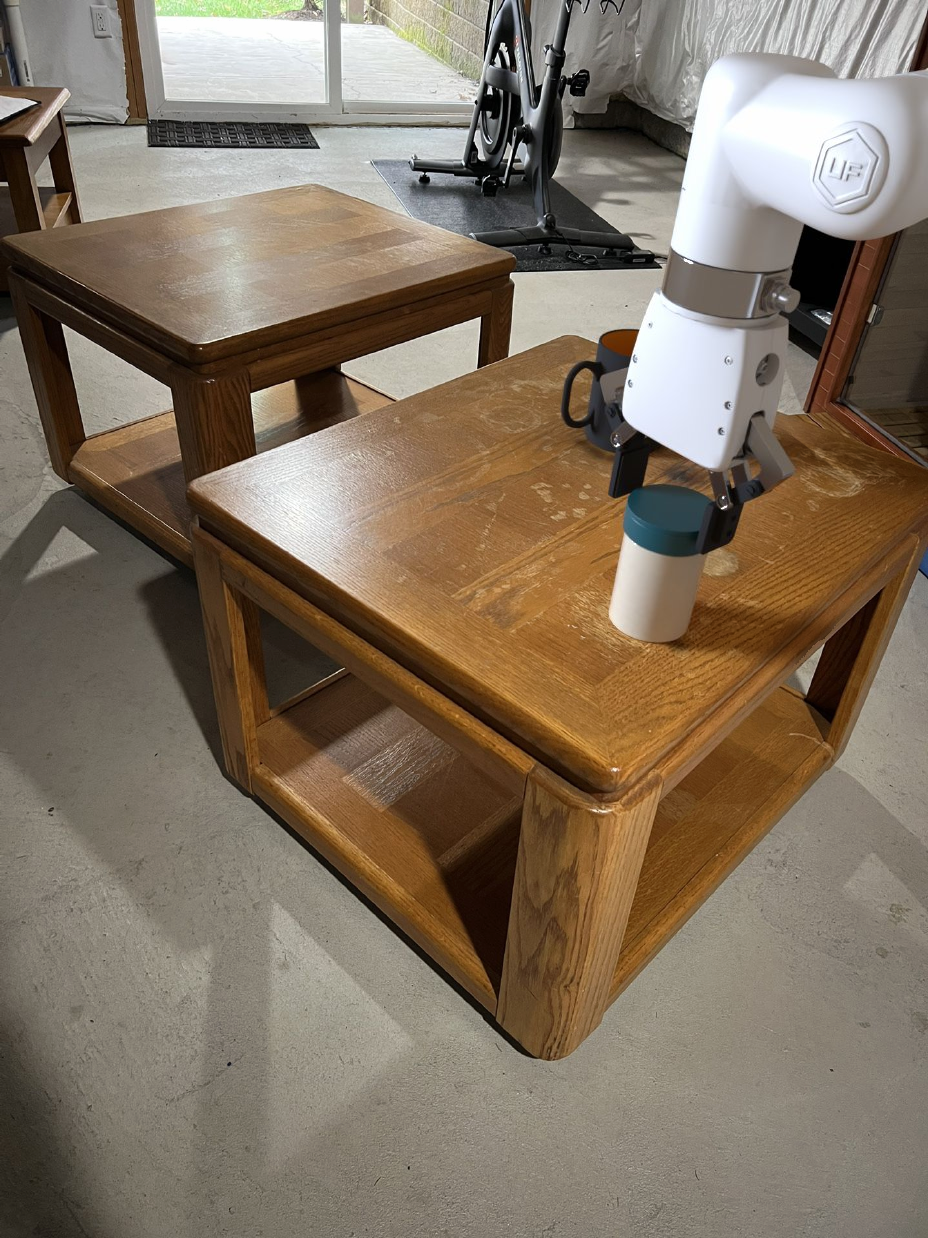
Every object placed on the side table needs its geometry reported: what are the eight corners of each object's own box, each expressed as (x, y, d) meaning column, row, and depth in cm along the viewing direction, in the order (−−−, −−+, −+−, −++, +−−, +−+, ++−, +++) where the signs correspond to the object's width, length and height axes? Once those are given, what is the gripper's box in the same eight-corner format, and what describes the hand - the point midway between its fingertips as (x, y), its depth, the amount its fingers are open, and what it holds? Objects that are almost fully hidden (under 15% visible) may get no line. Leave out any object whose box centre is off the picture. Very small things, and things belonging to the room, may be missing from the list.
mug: (541, 426, 101) (552, 333, 95) (639, 416, 105) (656, 325, 98) (572, 462, 95) (587, 365, 89) (675, 450, 99) (696, 356, 92)
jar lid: (671, 499, 74) (677, 475, 72) (734, 541, 69) (741, 517, 68) (603, 520, 70) (608, 496, 69) (665, 565, 66) (670, 541, 65)
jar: (651, 586, 78) (675, 483, 72) (705, 628, 74) (734, 522, 68) (592, 607, 75) (611, 502, 69) (644, 652, 71) (669, 544, 65)
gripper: (877, 319, 55) (792, 561, 66) (663, 237, 66) (619, 458, 77) (800, 341, 52) (724, 594, 62) (585, 251, 62) (551, 481, 73)
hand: (666, 518), depth 69 cm, fingers open, 8 cm apart
